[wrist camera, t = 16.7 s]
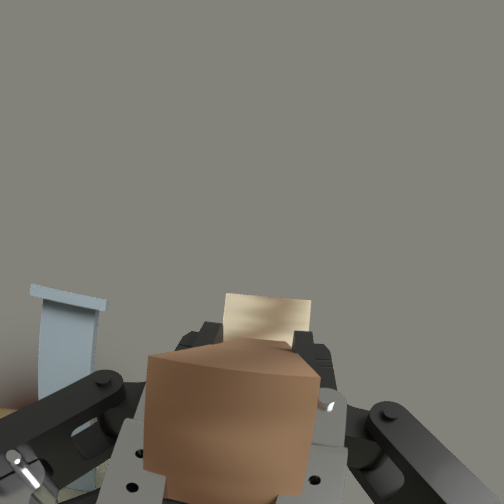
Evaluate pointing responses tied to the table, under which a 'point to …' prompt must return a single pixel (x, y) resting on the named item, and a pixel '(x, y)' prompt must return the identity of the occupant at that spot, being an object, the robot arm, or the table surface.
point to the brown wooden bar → (234, 408)
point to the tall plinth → (67, 348)
